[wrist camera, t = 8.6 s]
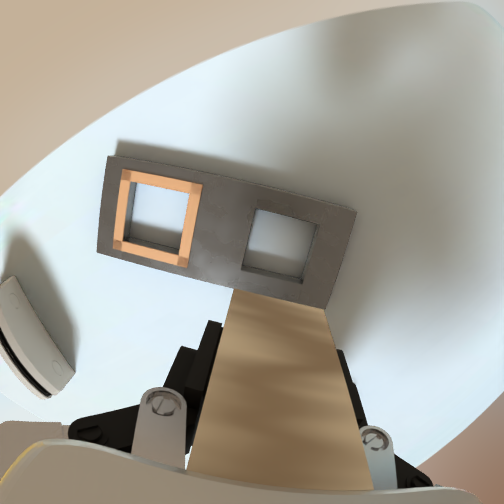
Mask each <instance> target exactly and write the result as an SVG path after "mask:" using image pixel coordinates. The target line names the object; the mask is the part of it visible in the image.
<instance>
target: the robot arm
mask: <svg viewBox="0 0 504 504" xmlns="http://www.w3.org/2000/svg"><path fill="white" fill-rule="evenodd" d="M221 326H222V323H218V322H215V321H211V320H208V323H207V326H206V328H205V331H204V334H203V337H202V340H201V342H200V345H199V348H198V350H195V349H191V348H187V347H184V346H181V347H180V349H179V351H178V353H177V356H176V358H175V360H174V362H173V365H172V367H171V369H170V372H169V374H168V376H167V378H166V381H165V383H164V385H163V387H156V388H152V389H149V390H147V391H146V392H145V393H144V394H143V396H142V398H141V402H140V404H139V405H135V406H131V407H127V408H123V409H119V410H115V411H110V412H106V413H102V414H97V415H93V416H88V417H83V418H80V419H77V420H75V421H74V422H73V423H71V425H62V424H61V422H25V421H24V422H23V421H5V422H3V423H2V424H0V504H482V502H481V501H480V500H479V498H478V497H477V496H476V495H474V494H473V493H471V492H469V491H466V490H461V489H458V488H451V487H443V486H440V485H437V484H436V485H435V486H433V484H432V481H431V480H430V478H429V477H428V476H426V475H425V474H424V473H422V472H421V471H419V470H418V469H416V468H415V467H413V466H412V465H410V464H409V463H407V462H406V461H404V460H403V459H401V458H400V457H398V456H397V455H395V454H394V450H393V442H392V439H391V437H390V436H389V434H388V433H387V432H386V431H385V430H383V429H381V428H379V427H376V426H370V425H368V424H367V420H366V417H365V414H364V410H363V407H362V404H361V400H360V397H359V394H358V391H357V387H356V385H355V384H354V383H353V382H352V379H351V375H350V372H349V369H348V366H347V363H346V360H345V356H344V353H343V351H342V350H338V349H336V351H337V354H338V358H339V361H340V364H341V368H342V371H343V374H344V378H345V381H346V385H347V388H348V392H349V395H350V399H351V402H352V406H353V409H354V413H355V417H356V420H357V424H358V428H359V431H360V435H361V439H362V443H363V447H364V451H365V455H366V459H367V462H368V467H369V471H370V475H371V479H372V483H373V487H374V490H367V491H337V490H312V489H298V488H287V487H278V486H269V485H262V484H255V483H248V482H242V481H236V480H230V479H225V478H220V477H215V476H210V475H206V474H202V473H197V472H193V471H189V470H185V455H186V454H188V453H189V451H190V447H191V446H193V442H194V438H195V435H196V431H197V427H198V423H199V419H200V415H201V411H202V408H203V404H204V400H205V396H206V392H207V388H208V385H209V381H210V377H211V373H212V369H213V366H214V362H215V358H216V354H217V350H218V347H219V343H220V339H221V335H222V332H223V327H221Z"/></svg>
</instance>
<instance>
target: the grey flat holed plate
mask: <svg viewBox="0 0 504 504" xmlns="http://www.w3.org/2000/svg"><path fill="white" fill-rule="evenodd" d="M136 183H142V184H147V185H152V186H157V187H161V188H166V189H171V190H176V191H180V192H185V193H190V194H189V199H188V205H187V210H186V215H185V221H184V226H183V232H182V238H181V244H180V250H179V249H175V248H171V247H167V246H163V245H159V244H155V243H151V242H147V241H143V240H139V239H135V238H131V237H129V233H130V225H131V217H132V210H133V202H134V196H135V189H136ZM255 208H257V209H261V210H265V211H269V212H273V213H277V214H281V215H285V216H289V217H293V218H297V219H301V220H305V221H309V222H313V223H316V224H317V227H316V230H315V234H314V237H313V240H312V244H311V247H310V251H309V254H308V257H307V261H306V264H305V267H304V271H303V274H302V277H301V279H299V278H295V277H291V276H287V275H282V274H278V273H274V272H270V271H266V270H261V269H257V268H253V267H249V266H245V265H242V262H243V258H244V254H245V250H246V246H247V241H248V237H249V233H250V229H251V225H252V220H253V216H254V212H255ZM356 214H357V212H356V211H355V210H354V209H351V208H347V207H344V206H340V205H337V204H333V203H330V202H326V201H322V200H319V199H315V198H311V197H307V196H304V195H300V194H296V193H292V192H288V191H284V190H280V189H276V188H272V187H268V186H264V185H260V184H256V183H251V182H247V181H243V180H238V179H234V178H230V177H225V176H221V175H216V174H211V173H207V172H202V171H197V170H192V169H187V168H182V167H177V166H172V165H167V164H161V163H156V162H150V161H145V160H139V159H133V158H127V157H121V156H115V155H112V156H108V157H107V163H106V169H105V176H104V183H103V190H102V199H101V207H100V217H99V228H98V240H97V253H101V254H104V255H108V256H111V257H115V258H118V259H122V260H125V261H129V262H133V263H136V264H140V265H144V266H147V267H151V268H155V269H158V270H162V271H166V272H170V273H174V274H178V275H181V276H185V277H189V278H193V279H197V280H201V281H205V282H209V283H213V284H217V285H221V286H225V287H229V288H233V289H234V288H235V289H239V290H243V291H247V292H251V293H255V294H260V295H264V296H268V297H272V298H276V299H280V300H285V301H289V302H294V303H298V304H303V305H307V306H312V307H317V308H321V309H326V306H327V303H328V301H329V298H330V295H331V292H332V289H333V286H334V283H335V281H336V278H337V275H338V272H339V269H340V266H341V263H342V260H343V257H344V253H345V250H346V247H347V244H348V241H349V238H350V234H351V231H352V228H353V225H354V221H355V218H356Z"/></svg>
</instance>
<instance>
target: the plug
mask: <svg viewBox="0 0 504 504" xmlns="http://www.w3.org/2000/svg"><path fill="white" fill-rule="evenodd" d="M187 470H189V471H193V472H197V473H202V474H206V475H210V476H215V477H220V478H225V479H230V480H236V481H242V482H248V483H255V484H262V485H269V486H278V487H287V488H298V489H312V490H337V491H367V490H374V487H373V483H372V479H371V475H370V471H369V467H368V462H367V459H366V455H365V451H364V447H363V443H362V439H361V435H360V431H359V428H358V424H357V420H356V417H355V413H354V409H353V406H352V402H351V399H350V395H349V392H348V388H347V385H346V381H345V378H344V374H343V371H342V368H341V364H340V361H339V358H338V354H337V351H336V348H335V344H334V341H333V338H332V335H331V331H330V328H329V325H328V322H327V319H326V316H325V313H324V310H323V309H319V308H315V307H310V306H306V305H302V304H297V303H293V302H289V301H284V300H280V299H276V298H272V297H268V296H264V295H260V294H255V293H251V292H247V291H243V290H239V289H235V288H234V291H233V294H232V298H231V302H230V305H229V309H228V313H227V317H226V320H225V324H224V328H223V332H222V335H221V339H220V343H219V347H218V350H217V354H216V358H215V362H214V366H213V369H212V373H211V377H210V381H209V385H208V388H207V392H206V396H205V400H204V404H203V408H202V411H201V415H200V419H199V423H198V427H197V431H196V435H195V438H194V442H193V446H192V450H191V454H190V458H189V462H188V466H187Z"/></svg>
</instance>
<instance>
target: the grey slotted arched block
mask: <svg viewBox="0 0 504 504" xmlns="http://www.w3.org/2000/svg"><path fill="white" fill-rule="evenodd" d="M0 354H1V356H2V357H3V359H4V360H5V362H6V363H7V365H8V366H9V368H10V369H11V370H12V372H13V373H14V374H15V375H16V376H17V378H18V379H19V380H20V381H21V382H22V383H23V384H24V385H25V386H26V387H27V388H28V389H29V390H30V391H31V392H32V393H33V394H35V395H36V396H37V397H38V398H40V399H48V398H51V396H52V395H57V394H58V393H59V392H60V391H62V389H63V388H64V387H65V386H66V384H67V383H68V382H69V381H70V379H71V378H72V377H73V376H74V374H75V372H74V370H73V369H72V368H71V366H70V365H69V364H68V362H67V361H66V359H65V358H64V356H63V355H62V354H61V352H60V351H59V349H58V348H57V346H56V345H55V343H54V342H53V340H52V339H51V337H50V336H49V334H48V333H47V331H46V329H45V328H44V326H43V325H42V323H41V321H40V320H39V318H38V316H37V315H36V313H35V311H34V310H33V308H32V306H31V304H30V303H29V301H28V299H27V297H26V295H25V294H24V292H23V290H22V288H21V286H20V284H19V282H18V281H17V279H16V277H15V276H11V277H9V278H8V279H7V280H6V281H5V282H2V283H1V284H0Z"/></svg>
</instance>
